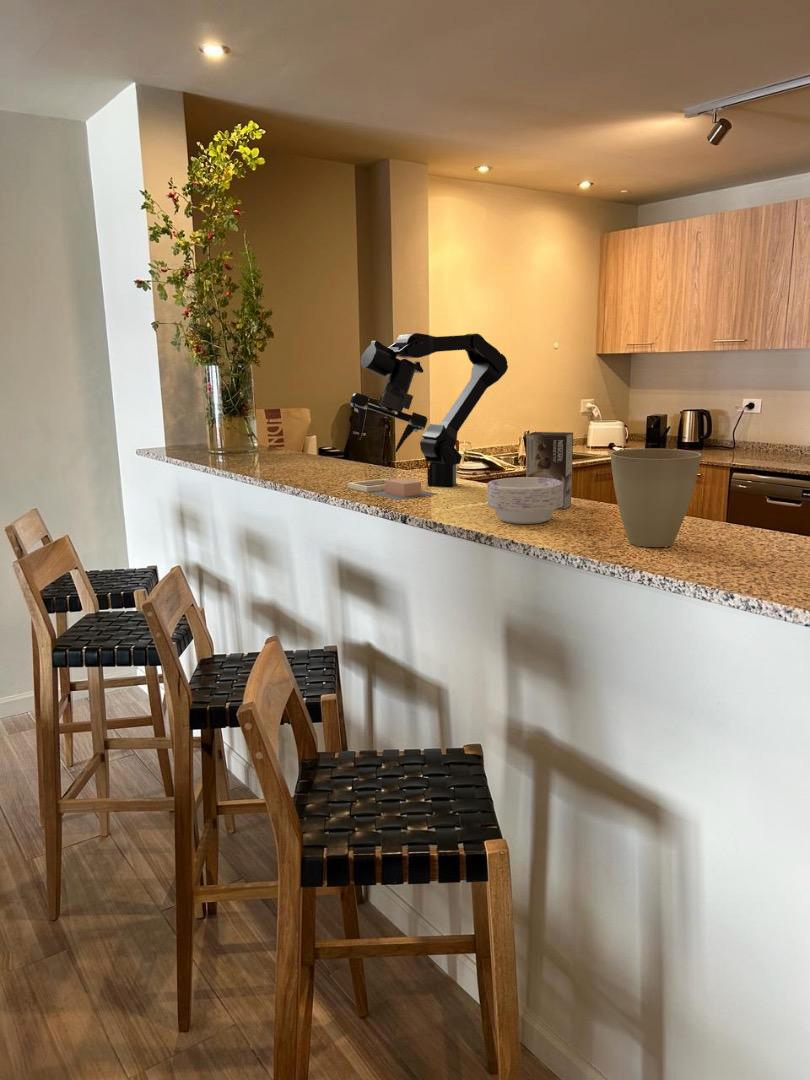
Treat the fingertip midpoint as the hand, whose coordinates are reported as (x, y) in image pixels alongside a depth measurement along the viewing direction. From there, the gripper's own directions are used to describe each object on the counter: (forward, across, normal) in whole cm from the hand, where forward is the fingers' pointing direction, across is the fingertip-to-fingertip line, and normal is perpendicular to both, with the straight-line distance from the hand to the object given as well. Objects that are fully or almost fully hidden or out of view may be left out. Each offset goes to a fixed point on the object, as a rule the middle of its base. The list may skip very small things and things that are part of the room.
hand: (377, 445), depth 186 cm
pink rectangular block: (+9, +9, 0) cm, 13 cm away
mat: (+10, +6, +5) cm, 12 cm away
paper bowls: (+8, +33, -31) cm, 46 cm away
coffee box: (+2, +40, -16) cm, 44 cm away
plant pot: (+6, +51, -53) cm, 74 cm away
